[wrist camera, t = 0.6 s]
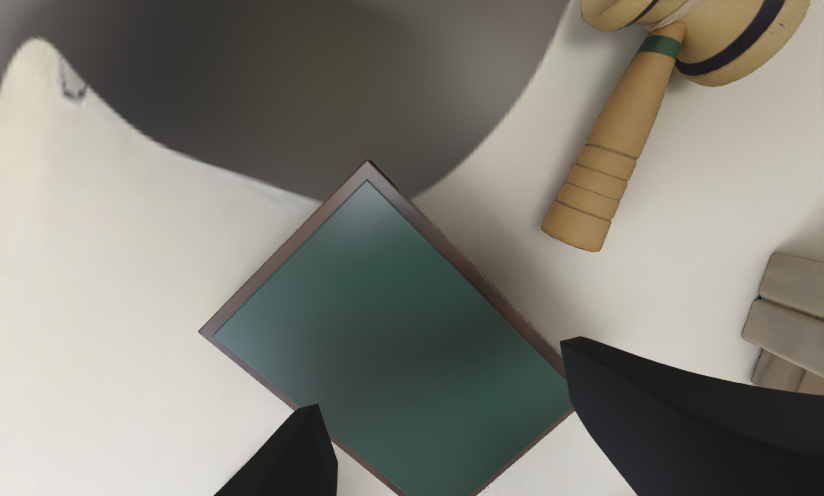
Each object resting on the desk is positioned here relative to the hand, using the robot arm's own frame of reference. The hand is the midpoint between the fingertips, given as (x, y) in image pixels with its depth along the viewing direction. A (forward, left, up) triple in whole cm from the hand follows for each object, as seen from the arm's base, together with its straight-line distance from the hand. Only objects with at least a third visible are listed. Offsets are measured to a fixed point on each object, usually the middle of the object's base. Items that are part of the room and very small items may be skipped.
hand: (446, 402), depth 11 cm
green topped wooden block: (-2, +2, -10) cm, 10 cm away
